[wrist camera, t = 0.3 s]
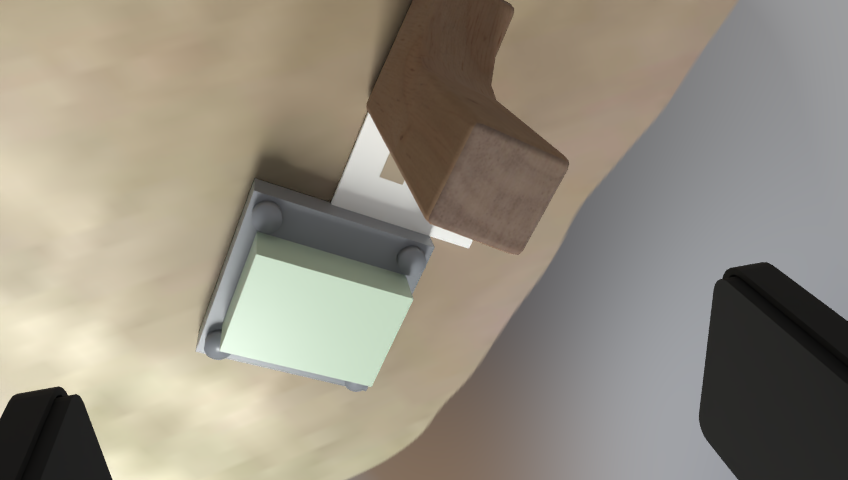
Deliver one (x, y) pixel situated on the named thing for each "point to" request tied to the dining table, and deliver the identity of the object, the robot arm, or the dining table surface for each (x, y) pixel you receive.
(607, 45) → the dining table surface
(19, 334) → the dining table surface
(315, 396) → the dining table surface
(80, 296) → the dining table surface
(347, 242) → the baseplate
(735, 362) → the robot arm
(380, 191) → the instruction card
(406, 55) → the wooden block
